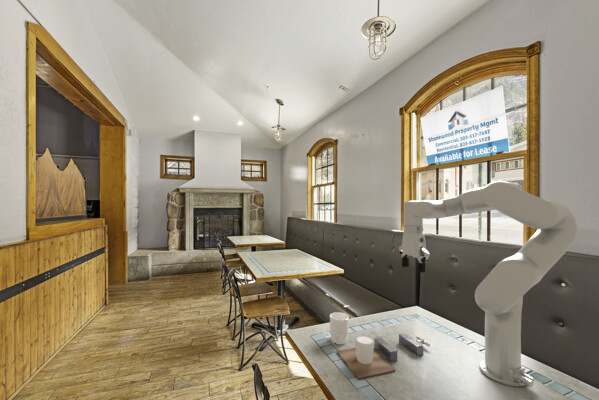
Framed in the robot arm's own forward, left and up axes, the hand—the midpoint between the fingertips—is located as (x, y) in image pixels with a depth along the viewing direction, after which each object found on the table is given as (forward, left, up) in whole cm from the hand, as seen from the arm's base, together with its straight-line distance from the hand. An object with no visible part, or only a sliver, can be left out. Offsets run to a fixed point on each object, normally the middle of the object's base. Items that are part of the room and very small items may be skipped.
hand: (413, 269), depth 114 cm
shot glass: (-10, +30, -28) cm, 42 cm away
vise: (-8, +11, -28) cm, 32 cm away
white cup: (+6, +32, -28) cm, 43 cm away
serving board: (-10, +30, -28) cm, 42 cm away
